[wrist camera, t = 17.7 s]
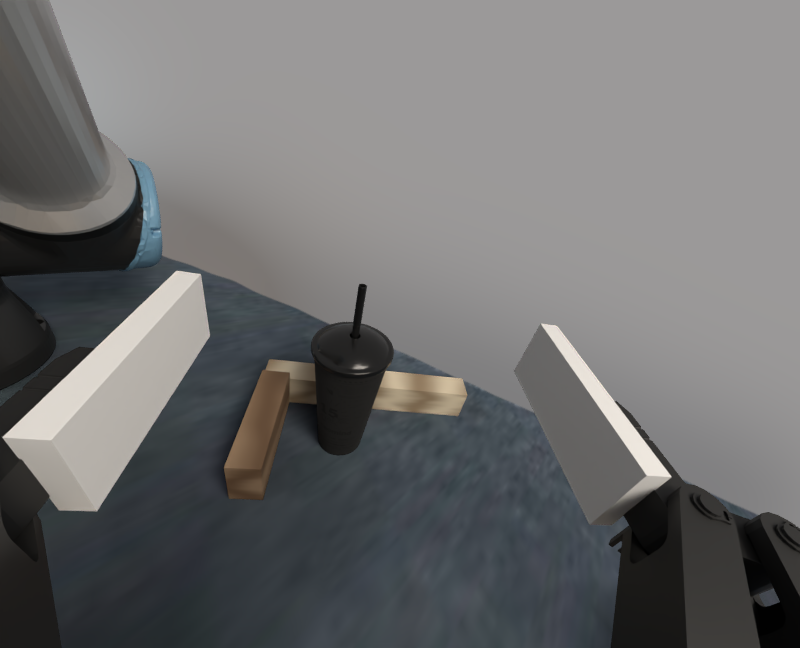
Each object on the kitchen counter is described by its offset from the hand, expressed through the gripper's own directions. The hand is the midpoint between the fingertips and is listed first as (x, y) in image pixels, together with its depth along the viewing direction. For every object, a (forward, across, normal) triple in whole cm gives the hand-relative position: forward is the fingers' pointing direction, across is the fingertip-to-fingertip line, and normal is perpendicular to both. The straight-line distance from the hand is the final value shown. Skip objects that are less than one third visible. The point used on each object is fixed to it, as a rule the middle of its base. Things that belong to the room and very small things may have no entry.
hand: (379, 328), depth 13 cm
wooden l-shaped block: (+14, +3, -26) cm, 29 cm away
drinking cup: (+13, 0, -26) cm, 29 cm away
